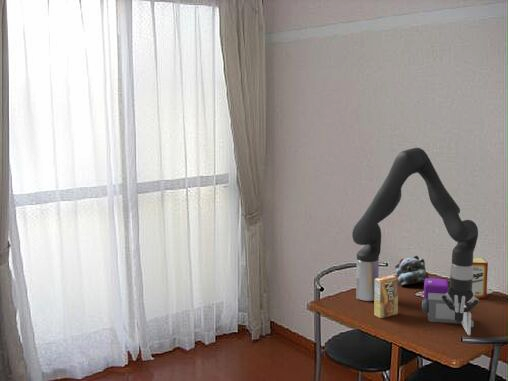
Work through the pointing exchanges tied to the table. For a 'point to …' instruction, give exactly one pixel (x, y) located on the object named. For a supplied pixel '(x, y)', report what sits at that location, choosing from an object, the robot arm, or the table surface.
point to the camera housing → (438, 309)
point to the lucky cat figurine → (411, 271)
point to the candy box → (386, 296)
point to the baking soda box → (479, 278)
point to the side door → (467, 322)
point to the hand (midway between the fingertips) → (458, 321)
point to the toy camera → (435, 286)
